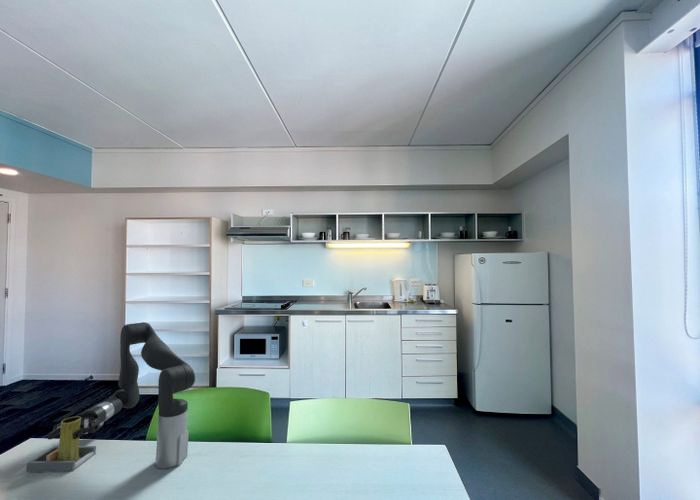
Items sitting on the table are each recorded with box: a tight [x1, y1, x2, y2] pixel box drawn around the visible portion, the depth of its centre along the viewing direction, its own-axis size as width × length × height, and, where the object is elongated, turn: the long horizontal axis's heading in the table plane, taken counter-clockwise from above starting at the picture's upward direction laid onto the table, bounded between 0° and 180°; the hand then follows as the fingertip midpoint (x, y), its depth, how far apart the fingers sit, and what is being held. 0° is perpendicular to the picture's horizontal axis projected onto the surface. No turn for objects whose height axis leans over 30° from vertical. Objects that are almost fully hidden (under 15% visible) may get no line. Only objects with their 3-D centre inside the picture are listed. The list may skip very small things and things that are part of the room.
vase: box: [57, 415, 81, 461], centre depth 109 cm, size 6×6×14 cm
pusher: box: [46, 449, 58, 461], centre depth 108 cm, size 1×7×4 cm, turn 3°
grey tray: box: [25, 445, 97, 473], centre depth 108 cm, size 15×10×3 cm, turn 93°
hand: (61, 436), depth 107 cm, fingers open, 8 cm apart
